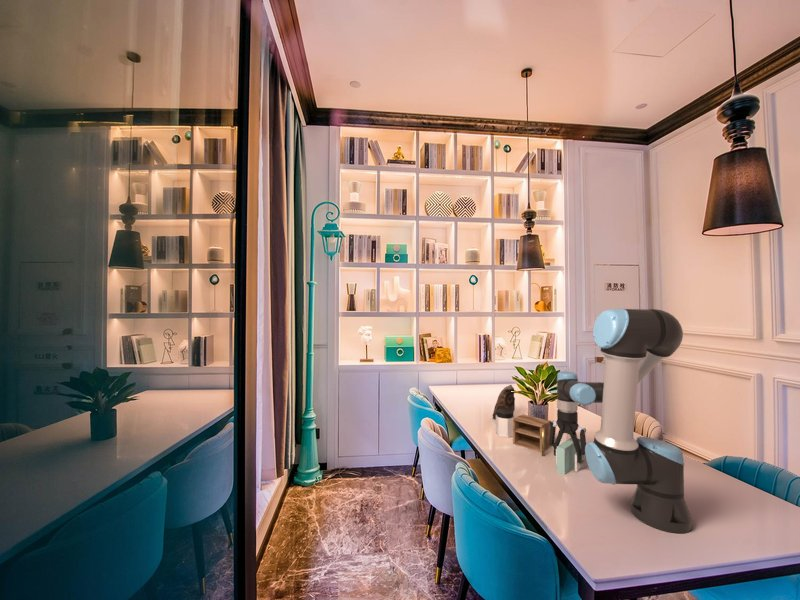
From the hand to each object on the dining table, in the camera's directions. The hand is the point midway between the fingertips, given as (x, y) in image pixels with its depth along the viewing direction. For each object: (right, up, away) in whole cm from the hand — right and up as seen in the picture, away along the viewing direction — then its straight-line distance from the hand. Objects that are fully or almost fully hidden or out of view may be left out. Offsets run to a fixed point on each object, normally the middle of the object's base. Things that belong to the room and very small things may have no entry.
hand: (567, 467), depth 141 cm
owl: (-7, -2, +62) cm, 62 cm away
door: (+2, 0, +2) cm, 2 cm away
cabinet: (-6, -1, +24) cm, 24 cm away
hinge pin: (-5, -1, +12) cm, 13 cm away
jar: (-14, -2, +37) cm, 40 cm away
